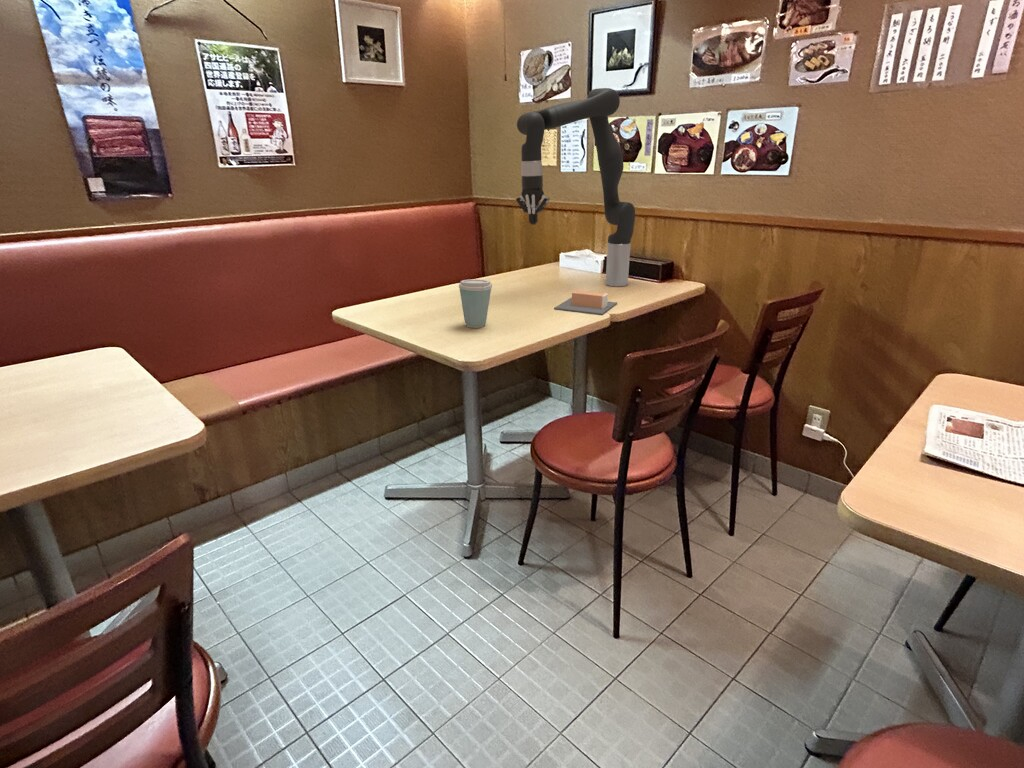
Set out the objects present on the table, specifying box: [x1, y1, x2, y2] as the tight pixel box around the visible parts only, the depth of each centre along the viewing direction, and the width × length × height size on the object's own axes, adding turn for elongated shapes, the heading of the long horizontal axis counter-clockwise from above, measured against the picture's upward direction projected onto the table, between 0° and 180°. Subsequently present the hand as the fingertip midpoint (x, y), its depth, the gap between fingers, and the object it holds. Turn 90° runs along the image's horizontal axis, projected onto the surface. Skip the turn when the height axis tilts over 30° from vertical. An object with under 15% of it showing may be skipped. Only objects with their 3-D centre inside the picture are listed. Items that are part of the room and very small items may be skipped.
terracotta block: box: [571, 289, 609, 309], centre depth 211 cm, size 4×4×12 cm
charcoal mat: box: [553, 296, 618, 316], centre depth 213 cm, size 17×18×1 cm
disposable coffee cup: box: [458, 278, 493, 329], centre depth 189 cm, size 11×11×15 cm
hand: (533, 224), depth 216 cm, fingers closed
